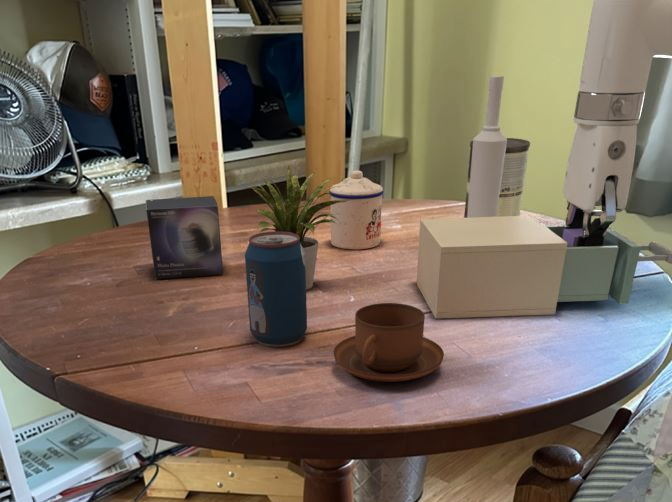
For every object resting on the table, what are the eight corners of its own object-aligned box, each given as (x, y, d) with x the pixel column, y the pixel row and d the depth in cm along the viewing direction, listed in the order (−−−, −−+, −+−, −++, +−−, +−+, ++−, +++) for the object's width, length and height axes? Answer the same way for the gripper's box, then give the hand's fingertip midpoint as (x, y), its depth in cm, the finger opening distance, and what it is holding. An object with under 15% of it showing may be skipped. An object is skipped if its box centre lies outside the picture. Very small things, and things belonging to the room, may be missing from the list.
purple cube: (587, 258, 96) (593, 228, 94) (598, 266, 93) (604, 235, 91) (558, 259, 96) (563, 229, 94) (568, 267, 93) (574, 236, 90)
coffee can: (451, 224, 131) (458, 142, 124) (484, 215, 137) (492, 136, 129) (497, 234, 125) (507, 147, 117) (530, 223, 131) (541, 140, 123)
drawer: (637, 271, 102) (650, 219, 98) (682, 301, 91) (698, 244, 87) (490, 276, 102) (496, 224, 98) (517, 307, 90) (525, 250, 86)
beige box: (521, 280, 103) (531, 215, 98) (555, 314, 91) (567, 242, 86) (416, 283, 102) (420, 219, 97) (435, 318, 90) (441, 246, 85)
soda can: (313, 329, 88) (310, 231, 81) (299, 351, 82) (296, 246, 76) (260, 326, 89) (253, 229, 83) (243, 346, 83) (235, 244, 77)
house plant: (292, 312, 93) (287, 181, 84) (223, 291, 101) (212, 169, 92) (360, 286, 102) (362, 164, 93) (291, 268, 110) (287, 155, 101)
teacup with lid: (376, 251, 117) (378, 177, 111) (323, 249, 119) (322, 175, 113) (388, 234, 127) (391, 164, 120) (339, 231, 129) (340, 163, 122)
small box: (154, 281, 106) (144, 208, 100) (154, 268, 111) (144, 199, 106) (224, 275, 108) (218, 203, 102) (220, 263, 113) (214, 194, 107)
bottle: (500, 247, 118) (522, 76, 104) (478, 252, 115) (497, 78, 102) (478, 241, 121) (496, 74, 108) (456, 246, 119) (471, 76, 105)
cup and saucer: (441, 395, 72) (446, 338, 68) (325, 388, 74) (325, 332, 70) (443, 349, 82) (448, 298, 78) (341, 344, 83) (341, 294, 80)
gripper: (671, 115, 77) (632, 280, 87) (610, 102, 91) (583, 245, 101) (604, 117, 77) (573, 282, 87) (553, 103, 91) (532, 246, 101)
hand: (579, 260), depth 94 cm, fingers closed on purple cube, 4 cm apart
